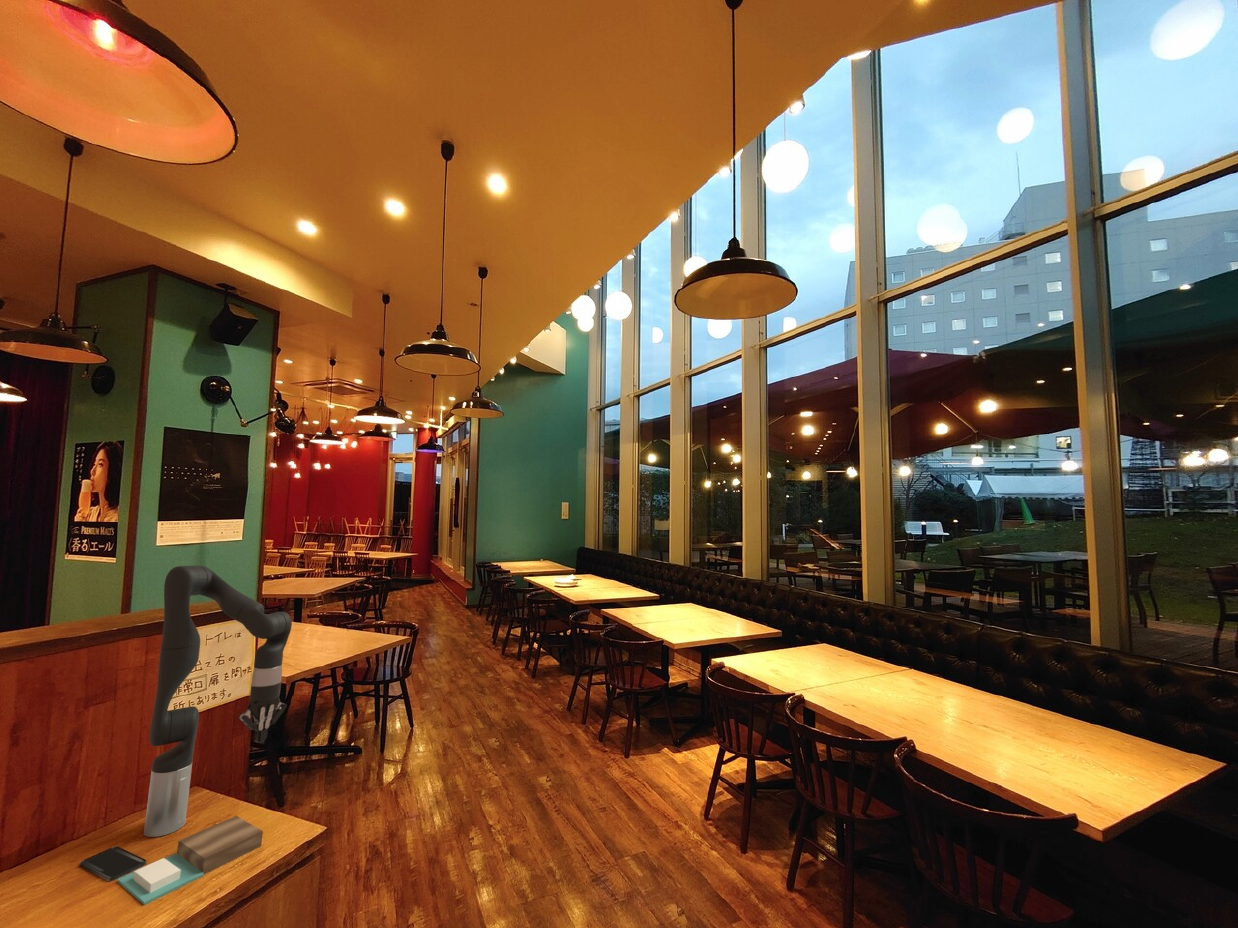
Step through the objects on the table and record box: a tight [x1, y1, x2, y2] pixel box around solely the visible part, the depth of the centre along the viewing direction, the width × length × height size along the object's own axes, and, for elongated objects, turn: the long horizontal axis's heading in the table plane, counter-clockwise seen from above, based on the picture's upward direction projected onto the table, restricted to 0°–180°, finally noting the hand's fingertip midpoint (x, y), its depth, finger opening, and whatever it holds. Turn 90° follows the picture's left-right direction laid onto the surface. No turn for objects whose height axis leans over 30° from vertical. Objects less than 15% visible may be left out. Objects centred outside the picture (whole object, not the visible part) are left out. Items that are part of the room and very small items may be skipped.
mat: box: [117, 853, 205, 906], centre depth 132 cm, size 15×12×1 cm
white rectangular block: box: [133, 857, 181, 893], centre depth 131 cm, size 9×6×2 cm, turn 62°
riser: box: [176, 815, 264, 875], centre depth 144 cm, size 14×14×4 cm
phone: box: [79, 845, 147, 882], centre depth 137 cm, size 8×1×15 cm
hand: (260, 741), depth 155 cm, fingers closed
